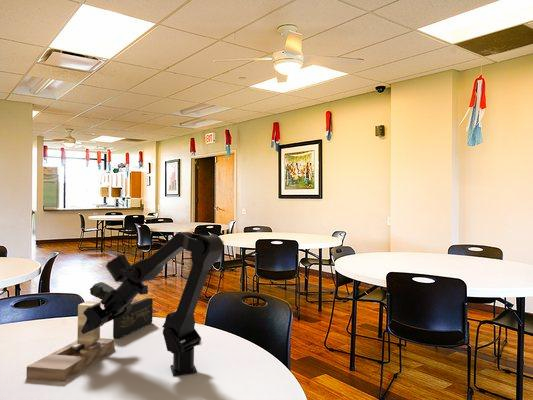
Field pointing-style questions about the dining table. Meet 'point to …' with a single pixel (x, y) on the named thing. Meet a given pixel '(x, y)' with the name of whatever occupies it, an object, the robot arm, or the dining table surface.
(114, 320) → the nameplate
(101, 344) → the keyhole board
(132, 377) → the dining table surface
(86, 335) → the peg
